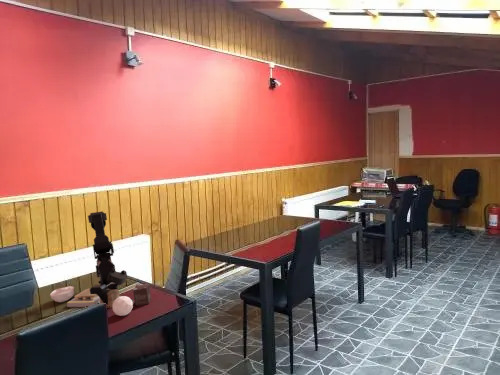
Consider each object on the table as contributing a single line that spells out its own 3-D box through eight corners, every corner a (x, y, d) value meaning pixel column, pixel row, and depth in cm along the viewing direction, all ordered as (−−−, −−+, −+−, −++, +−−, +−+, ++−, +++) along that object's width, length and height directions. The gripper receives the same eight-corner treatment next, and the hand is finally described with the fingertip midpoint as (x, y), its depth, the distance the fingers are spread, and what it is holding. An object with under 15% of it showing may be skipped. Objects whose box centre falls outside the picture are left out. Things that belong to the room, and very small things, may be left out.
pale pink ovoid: (105, 310, 167) (120, 302, 179) (120, 322, 165) (135, 313, 177) (114, 294, 166) (128, 287, 178) (130, 306, 165) (143, 298, 176)
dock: (88, 293, 202) (88, 289, 202) (114, 293, 199) (113, 289, 199) (67, 307, 187) (66, 302, 187) (94, 306, 183) (93, 302, 183)
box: (151, 299, 185) (149, 283, 184) (148, 304, 179) (146, 288, 178) (138, 300, 185) (136, 285, 184) (134, 306, 179) (132, 289, 178)
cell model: (81, 295, 201) (79, 282, 200) (65, 305, 189) (62, 291, 189) (63, 296, 203) (61, 282, 203) (46, 305, 192) (43, 291, 191)
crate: (108, 302, 187) (106, 289, 187) (120, 301, 186) (118, 288, 185) (101, 307, 182) (99, 294, 181) (113, 307, 180) (111, 294, 179)
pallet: (88, 292, 199) (87, 288, 198) (106, 291, 196) (105, 287, 196) (74, 300, 189) (74, 296, 189) (93, 299, 187) (93, 295, 186)
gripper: (109, 274, 171) (115, 310, 173) (132, 261, 189) (137, 293, 191) (86, 275, 174) (92, 310, 175) (111, 262, 192) (115, 294, 193)
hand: (110, 302), depth 184 cm, fingers closed on crate, 6 cm apart
